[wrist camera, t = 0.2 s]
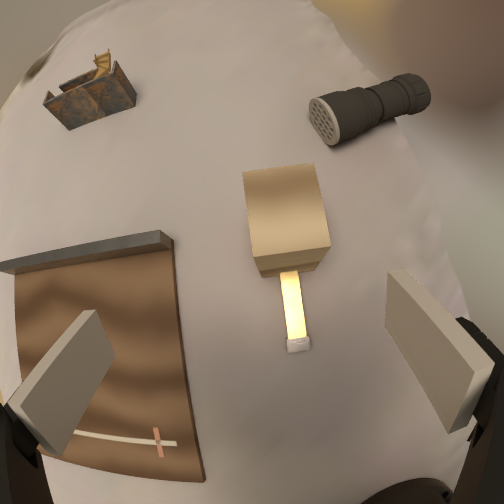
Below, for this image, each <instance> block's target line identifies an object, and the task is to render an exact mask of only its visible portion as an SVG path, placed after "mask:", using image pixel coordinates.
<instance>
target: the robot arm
mask: <svg viewBox="0 0 504 504" xmlns="http://www.w3.org/2000/svg"><path fill="white" fill-rule="evenodd" d="M385 326H386V328H387V329H388V331H389V333H390V334H391V336H392V337H393V339H394V341H395V342H396V344H397V345H398V347H399V349H400V350H401V352H402V354H403V355H404V357H405V359H406V360H407V362H408V363H409V365H410V367H411V369H412V370H413V372H414V374H415V375H416V377H417V379H418V380H419V382H420V384H421V386H422V387H423V389H424V391H425V393H426V394H427V396H428V398H429V400H430V402H431V403H432V405H433V407H434V409H435V411H436V412H437V414H438V416H439V418H440V420H441V422H442V424H443V425H444V427H445V429H446V431H447V433H448V434H449V433H452V432H454V431H456V430H459V429H461V428H463V427H465V426H467V425H468V423H469V421H470V419H471V417H472V415H474V417H475V418H476V420H477V421H478V422H477V423H476V425H475V427H474V429H473V431H472V432H471V434H470V436H469V438H468V440H467V441H469V442H470V440H471V443H470V446H469V449H468V453H467V456H466V459H465V462H464V465H463V468H462V471H461V474H460V477H459V480H458V482H457V485H456V488H455V490H454V493H453V492H452V490H451V489H449V488H448V487H447V486H446V485H445V484H444V483H443V482H441V481H439V480H436V479H429V478H422V479H414V480H410V481H406V482H402V483H399V484H397V485H394V486H392V487H389V488H387V489H385V490H383V491H381V492H379V493H378V494H376V495H374V496H373V497H371V498H369V499H368V500H367V501H365V502H364V503H362V504H504V355H503V354H502V353H501V352H500V350H499V349H498V348H497V347H496V346H495V345H494V344H493V343H492V342H491V341H490V340H489V339H487V337H486V335H485V334H483V332H481V331H480V329H479V328H478V327H477V326H476V325H475V324H474V323H473V322H471V321H469V320H467V319H465V318H463V317H459V318H456V319H454V318H453V317H452V316H451V315H450V314H449V313H448V311H447V310H446V309H445V308H444V307H443V306H442V305H441V304H440V303H439V302H438V301H437V300H436V299H435V298H434V297H433V296H432V295H431V294H430V293H429V292H428V291H427V290H426V289H425V288H423V287H422V286H421V285H420V284H419V283H418V282H417V281H416V280H415V279H414V278H413V277H412V276H411V275H410V274H409V273H408V272H407V271H406V270H405V269H404V268H402V269H397V270H392V271H388V279H387V303H386V319H385ZM115 357H116V355H115V353H114V351H113V349H112V346H111V344H110V342H109V340H108V338H107V335H106V333H105V331H104V328H103V326H102V323H101V321H100V319H99V316H98V314H97V311H96V310H84V311H83V312H82V313H81V314H80V315H79V316H78V317H77V318H76V320H75V321H74V322H73V323H72V324H71V325H70V326H69V327H68V329H67V330H66V331H65V332H64V333H63V334H62V335H61V337H60V338H59V339H58V340H57V341H56V342H55V344H54V345H53V346H52V347H51V348H50V349H49V351H48V352H47V353H46V354H45V355H44V357H43V358H42V359H41V360H40V361H39V363H38V364H37V365H36V366H35V368H34V369H33V370H32V371H31V372H30V373H29V374H28V376H27V377H26V379H25V380H24V381H23V382H22V383H21V385H20V386H19V387H18V388H17V390H16V391H15V392H14V393H13V395H12V396H11V397H10V399H9V400H8V401H7V403H6V404H5V405H4V407H3V406H2V404H1V403H0V504H54V503H53V500H52V496H51V493H50V489H49V486H48V482H47V478H46V474H45V470H44V465H43V461H42V456H41V453H40V451H39V450H38V449H37V446H38V445H39V443H40V445H41V446H42V447H43V448H44V449H45V450H46V451H47V452H48V453H50V454H53V455H57V456H60V457H62V455H63V453H64V451H65V449H66V447H67V445H68V443H69V441H70V439H71V437H72V435H73V433H74V431H75V429H76V427H77V425H78V423H79V421H80V420H81V418H82V416H83V414H84V412H85V410H86V408H87V407H88V405H89V403H90V401H91V399H92V397H93V396H94V394H95V392H96V390H97V388H98V387H99V385H100V383H101V381H102V380H103V378H104V376H105V374H106V373H107V371H108V369H109V367H110V366H111V364H112V362H113V361H114V359H115ZM471 438H472V439H471Z"/></svg>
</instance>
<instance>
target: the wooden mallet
mask: <svg viewBox="0 0 504 504" xmlns="http://www.w3.org/2000/svg"><path fill="white" fill-rule="evenodd" d="M242 173H243V181H244V189H245V197H246V204H247V212H248V220H249V228H250V236H251V244H252V252H253V258H254V260H255V263H256V265H257V267H258V269H259V272H260V274H261V276H262V278H264V277H271V276H278V275H280V280H281V288H282V295H283V302H284V310H285V317H286V325H287V333H288V338H286V342H287V350H288V353H291V352H298V351H304V350H311V348H310V340H309V336H308V335H306V328H305V321H304V313H303V306H302V298H301V291H300V284H299V278H298V273H299V272H306V271H313V270H315V268H316V267H317V265H318V264H319V263H320V261H321V260H322V258H323V257H324V256H325V254H326V253H327V251H328V250H329V249H330V247H331V243H330V237H329V232H328V227H327V222H326V217H325V212H324V207H323V202H322V197H321V193H320V188H319V184H318V179H317V175H316V171H315V166H314V163H310V164H301V165H292V166H284V167H277V168H269V169H262V170H255V171H248V172H242Z"/></svg>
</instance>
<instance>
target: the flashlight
mask: <svg viewBox="0 0 504 504" xmlns="http://www.w3.org/2000/svg"><path fill="white" fill-rule="evenodd" d="M430 101H431V93H430V90H429V88H428V85H427V84H426V82H425V81H424V80H423V79H422V78H421V77H420V76H418V75H414V74H413V75H412V74H410V73H408V74H403V75H398V76H396V77H394V78H393V79H392V80H389V81H386V82H382V83H380V84H379V85H375V86H371V87H368V88H365V89H363V88H361V87H356V88H352V89H349V90H347V91H336V92H332V93H329V94H326V95H323V96H320V97H317V98H314V99H312V100H310V103H309V114H310V118H311V121H312V124H313V126H314V128H315V130H316V131H317V133H318V134H319V136H320V137H321V138H322V140H323V141H324V142H325V143H326V144H328V145H334V144H337V143H339V142H342V141H345V140H347V139H350V138H352V137H355V136H356V135H358V134H359V133H360V132H361V131H363V130H367V129H370V128H373V127H375V126H376V125H377V123H378V122H379V121H382V120H385V119H388V118H391V117H398V116H401V115H405V114H409V115H413V114H416V113H419V112H421V111H423V110H425V109H426V108H427V106H429V104H430Z"/></svg>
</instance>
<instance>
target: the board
mask: <svg viewBox="0 0 504 504" xmlns="http://www.w3.org/2000/svg"><path fill="white" fill-rule="evenodd" d="M0 272H4V273H8V274H12V275H15V322H16V336H17V347H18V356H19V364H20V371H21V378H22V382H23V381H24V380H25V379H26V377H27V376H28V374H29V373H30V372H31V371H32V370H33V369H34V368H35V366H36V365H37V364H38V363H39V361H40V360H41V359H42V358H43V357H44V355H45V354H46V353H47V352H48V351H49V349H50V348H51V347H52V346H53V345H54V344H55V342H56V341H57V340H58V339H59V338H60V337H61V335H62V334H63V333H64V332H65V331H66V330H67V329H68V327H69V326H70V325H71V324H72V323H73V322H74V321H75V320H76V318H77V317H78V316H79V315H80V314H81V313H82V312H83V311H84V310H96V311H97V314H98V316H99V319H100V321H101V323H102V326H103V328H104V331H105V333H106V335H107V338H108V340H109V342H110V344H111V346H112V349H113V351H114V353H115V355H116V357H115V359H114V361H113V362H112V364H111V366H110V367H109V369H108V371H107V373H106V374H105V376H104V378H103V380H102V381H101V383H100V385H99V387H98V388H97V390H96V392H95V394H94V396H93V397H92V399H91V401H90V403H89V405H88V407H87V408H86V410H85V412H84V414H83V416H82V418H81V420H80V421H79V423H78V425H77V427H76V429H75V431H74V433H73V435H72V437H71V439H70V441H69V443H68V445H67V447H66V449H65V451H64V453H63V455H62V457H60V456H57V455H53V454H50V453H48V452H47V451H46V450H45V449H44V448H43V447H42V446H41V445H40V443H39V445H38V446H37V448H38V450H39V451H40V453H41V454H43V455H46V456H49V457H53V458H56V459H59V460H62V461H66V462H69V463H73V464H77V465H81V466H85V467H89V468H93V469H97V470H102V471H107V472H112V473H117V474H123V475H129V476H135V477H142V478H150V479H158V480H168V481H180V482H198V483H204V481H205V480H206V479H205V474H204V470H203V465H202V461H201V456H200V451H199V446H198V441H197V435H196V430H195V424H194V419H193V413H192V407H191V401H190V394H189V388H188V381H187V374H186V367H185V360H184V352H183V344H182V336H181V327H180V318H179V308H178V297H177V286H176V274H175V260H174V244H173V239H171V238H170V237H169V236H167V235H166V234H165V233H163V232H162V231H161V230H155V231H150V232H144V233H138V234H133V235H127V236H122V237H117V238H111V239H106V240H101V241H96V242H91V243H86V244H81V245H76V246H71V247H66V248H61V249H57V250H52V251H47V252H43V253H38V254H33V255H29V256H24V257H20V258H16V259H11V260H7V261H3V262H0Z"/></svg>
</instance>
